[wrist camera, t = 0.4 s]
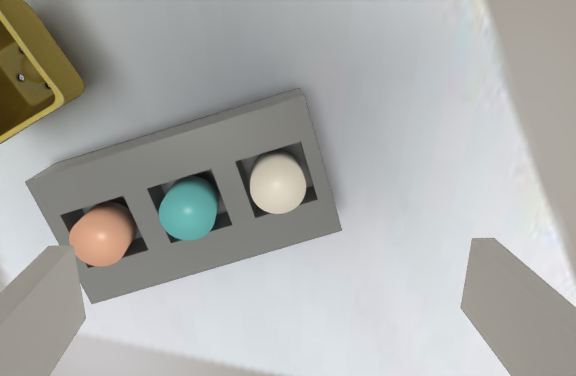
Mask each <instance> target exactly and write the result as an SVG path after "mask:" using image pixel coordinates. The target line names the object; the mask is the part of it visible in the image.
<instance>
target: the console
mask: <svg viewBox="0 0 576 376" xmlns="http://www.w3.org/2000/svg"><path fill="white" fill-rule="evenodd" d="M274 150H280V151H285V152H287V153H290V154H291V155H293V156H294V157H295V158H296V159H297V160H298V162H299V163H300V165H301V168H302V171H303V174H304V178H305V181H306V193H305V196H304V198H303V200H302V202H301V203H300V204H299V205H298V206H297V207H296V208H295V209H293V210H291V211H289V212H287V213H283V214H273V213H269V212H266V211H264V210H262V209H261V208H259V207H258V206H257V205H256V203H255V202H254V201H253V199H252V196H251V193H250V179H251V170H252V166H253V164H254V162H255V161H256V160H257V159H258V158H259V157H260V156H261V155H262V154H264V153H266V152H269V151H274ZM188 176H195V177H200V178H203V179H205V180H207V181H208V182H210V183H211V184H212V185H213V186H214V188H215V189H216V191H217V193H218V196H219V206H218V210H217V214H216V218H215V222H214V225H213V227H212V229H211V230H210V231H209V233H207V234H206V235H205V236H203V237H202V238H199V239H196V240H181V239H178V238H175V237H173V236H172V235H170V234H169V233H168V232H167V231H166V230H165V229H164V228H163V226H162V224H161V222H160V219H159V208H160V205H161V203H162V201H163V199H164V198H165V196H166V194H167V192H168V191H169V189H170V187H171V186H172V185H173V184H174V183H175V182H176V181H177V180H179V179H181V178H184V177H188ZM25 183H26V185H27V186H28V188H29V190H30V192H31V194H32V196H33V197H34V199H35V201H36V203H37V205H38V207H39V208H40V210H41V212H42V214H43V216H44V218H45V219H46V221H47V223H48V225H49V227H50V229H51V230H52V232H53V234H54V236H55V238H56V240H57V241H58V243H59V245H60V246H70V243H69V235H70V231H71V229H72V228H73V226H74V225H75V224H76V223H77V222H78V221H79V220H80V219H81V218H82V217H83V216H84V215H85V214H86V213H87V212H88V211H89V210H90V209H91V208H92V207H93V206H94V205H96V204H99V203H102V202H115V203H118V204H121V205H123V206H124V207H126V208H127V209H128V210H130V212H131V213H132V215H133V217H134V220H135V222H136V224H137V233H136V235H135V237H134V239H133V241H132V242H131V244H130V245H129V247H128V249H127V250H126V252H125V253H124V255H123V256H122V258H121V259H120V260H119V261H117V262H116V263H114V264H112V265H109V266H103V267H99V266H93V265H89V264H87V263H85V262H83V261H82V260H80V259H79V258H78V257H77V256H76V255H75V257H76V263H77V269H78V275H79V281H80V284H81V285H82V287H83V289H84V291H85V293H86V295H87V296H88V298H89V300H90V302H91V304H94V303H98V302H101V301H105V300H108V299H111V298H115V297H118V296H122V295H125V294H128V293H132V292H135V291H138V290H142V289H145V288H149V287H152V286H155V285H159V284H162V283H166V282H169V281H172V280H176V279H179V278H183V277H186V276H189V275H193V274H196V273H199V272H203V271H206V270H210V269H213V268H216V267H220V266H223V265H227V264H230V263H233V262H237V261H240V260H244V259H247V258H250V257H254V256H257V255H261V254H264V253H267V252H271V251H274V250H277V249H281V248H284V247H288V246H291V245H294V244H298V243H301V242H305V241H308V240H311V239H315V238H318V237H322V236H325V235H328V234H332V233H335V232H338V231H342V228H341V225H340V221H339V218H338V214H337V210H336V207H335V203H334V200H333V196H332V193H331V189H330V185H329V182H328V178H327V175H326V171H325V168H324V164H323V160H322V157H321V153H320V150H319V146H318V143H317V139H316V135H315V132H314V128H313V125H312V121H311V117H310V114H309V110H308V107H307V103H306V100H305V96H304V94H303V93H302V92H301V90H300V89H299V88H297V89H294V90H290V91H287V92H284V93H281V94H278V95H274V96H271V97H268V98H265V99H261V100H258V101H255V102H252V103H249V104H245V105H242V106H239V107H236V108H232V109H229V110H226V111H223V112H220V113H216V114H213V115H210V116H207V117H203V118H200V119H197V120H194V121H191V122H187V123H184V124H181V125H178V126H174V127H171V128H168V129H165V130H162V131H158V132H155V133H152V134H149V135H145V136H142V137H139V138H136V139H133V140H129V141H126V142H123V143H120V144H116V145H113V146H110V147H107V148H104V149H100V150H97V151H94V152H91V153H87V154H84V155H81V156H78V157H75V158H71V159H68V160H65V161H62V162H58V163H55V164H53V165H51V166H50V167H48V168H46V169H45V170H43V171H42V172H40V173H38V174H37V175H35V176H34V177H32V178H30V179H29V180H27V181H25Z"/></svg>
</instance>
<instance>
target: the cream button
mask: <svg viewBox="0 0 576 376" xmlns="http://www.w3.org/2000/svg"><path fill="white" fill-rule="evenodd" d="M250 193H251V196H252V199H253V201H254V202H255V203H256V205H257V206H258V207H259V208H261V209H262V210H264V211H266V212H269V213H273V214H283V213H287V212H289V211H291V210H293V209H295V208H296V207H297V206H298V205H299V204H300V203H301V202H302V200H303V198H304V196H305V193H306V181H305V178H304V174H303V171H302V168H301V165H300V163H299V162H298V160H297V159H296V158H295V157H294V156H293V155H291V154H290V153H287V152H285V151H280V150H274V151H269V152H266V153H264V154H262V155H261V156H260V157H259V158H258V159H257V160H256V161H255V162H254V164H253V166H252V170H251V179H250Z"/></svg>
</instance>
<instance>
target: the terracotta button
mask: <svg viewBox="0 0 576 376" xmlns="http://www.w3.org/2000/svg"><path fill="white" fill-rule="evenodd" d="M136 233H137V224H136V222H135V220H134V217H133V215H132V213H131V212H130V210H128V209H127V208H126V207H124V206H123V205H121V204H118V203H115V202H102V203H99V204H96V205H94V206H93V207H92V208H91V209H90V210H89V211H88V212H87V213H86V214H85V215H84V216H83V217H82V218H81V219H80V220H79V221H78V222H77V223H76V224H75V225H74V226H73V228H72V229H71V231H70V235H69V243H70V246H71V245H73V246H74V252H75V255H76V256H77V257H78V258H79V259H80V260H82V261H83V262H85V263H87V264H89V265H93V266H99V267H103V266H109V265H112V264H114V263H116V262H117V261H119V260H120V259H121V258H122V256H123V255H124V253H125V252H126V250H127V249H128V247H129V245H130V244H131V242H132V241H133V239H134V237H135V235H136Z"/></svg>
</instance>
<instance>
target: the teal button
mask: <svg viewBox="0 0 576 376" xmlns="http://www.w3.org/2000/svg"><path fill="white" fill-rule="evenodd" d="M218 206H219V196H218V193H217V191H216V189H215V188H214V186H213V185H212V184H211V183H210V182H208V181H207V180H205V179H203V178H200V177H195V176H188V177H184V178H181V179H179V180H177V181H176V182H175V183H174V184H173V185H172V186H171V187H170V189H169V191H168V192H167V194H166V196H165V198H164V199H163V201H162V203H161V205H160V208H159V219H160V222H161V224H162V226H163V228H164V229H165V230H166V231H167V232H168V233H169V234H170V235H172V236H173V237H175V238H178V239H181V240H196V239H199V238H202V237H203V236H205V235H206V234H207V233H209V231H210V230H211V229H212V227H213V225H214V222H215V218H216V214H217V210H218Z"/></svg>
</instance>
